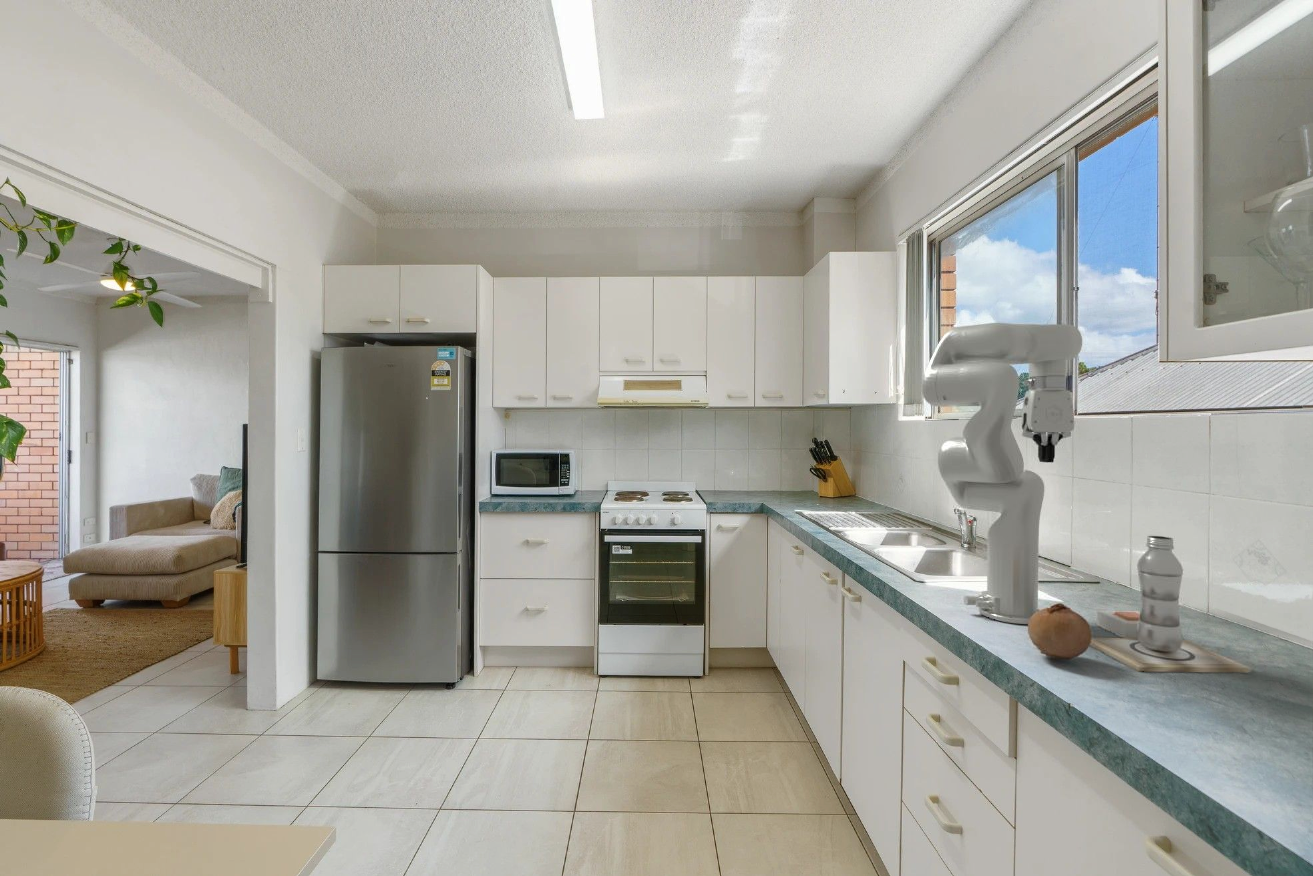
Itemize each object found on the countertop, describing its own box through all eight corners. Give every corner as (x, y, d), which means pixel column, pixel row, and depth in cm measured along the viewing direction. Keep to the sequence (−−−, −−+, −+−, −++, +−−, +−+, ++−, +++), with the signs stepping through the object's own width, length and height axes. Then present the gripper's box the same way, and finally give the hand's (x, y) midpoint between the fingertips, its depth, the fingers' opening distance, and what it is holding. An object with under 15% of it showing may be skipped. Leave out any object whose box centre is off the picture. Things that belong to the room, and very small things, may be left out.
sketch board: (1138, 671, 104) (1138, 665, 104) (1083, 642, 118) (1084, 636, 118) (1250, 672, 103) (1250, 666, 103) (1182, 643, 117) (1182, 637, 117)
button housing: (1125, 638, 120) (1125, 623, 120) (1097, 625, 128) (1097, 610, 128) (1168, 639, 119) (1168, 623, 119) (1137, 625, 127) (1137, 611, 127)
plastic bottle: (1146, 654, 109) (1147, 540, 108) (1129, 641, 115) (1130, 533, 115) (1190, 658, 107) (1192, 541, 107) (1171, 644, 113) (1172, 535, 113)
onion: (1069, 674, 103) (1070, 613, 103) (1015, 655, 112) (1016, 599, 111) (1103, 664, 107) (1104, 606, 107) (1049, 646, 116) (1049, 593, 115)
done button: (1128, 631, 122) (1128, 617, 122) (1115, 625, 126) (1115, 611, 125) (1148, 631, 122) (1148, 617, 122) (1134, 625, 125) (1134, 611, 125)
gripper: (1023, 384, 145) (1022, 463, 145) (1089, 383, 144) (1088, 463, 145) (1006, 386, 152) (1006, 461, 153) (1069, 385, 152) (1068, 461, 152)
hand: (1046, 461), depth 149 cm, fingers closed
